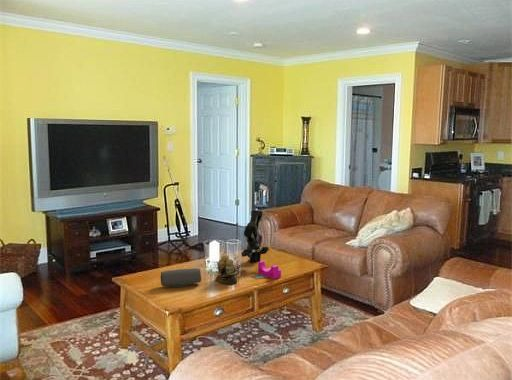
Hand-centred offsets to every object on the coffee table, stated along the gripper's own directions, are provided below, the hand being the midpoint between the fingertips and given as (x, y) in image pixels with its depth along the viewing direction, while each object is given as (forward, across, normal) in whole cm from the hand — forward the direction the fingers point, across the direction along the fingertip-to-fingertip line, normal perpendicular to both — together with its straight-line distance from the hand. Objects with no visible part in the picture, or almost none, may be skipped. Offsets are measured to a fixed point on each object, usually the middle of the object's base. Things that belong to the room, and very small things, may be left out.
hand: (259, 262), depth 295 cm
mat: (+10, +1, +2) cm, 11 cm away
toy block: (+11, -2, +3) cm, 11 cm away
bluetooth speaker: (+5, +55, -5) cm, 55 cm away
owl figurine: (+9, +27, 0) cm, 29 cm away
